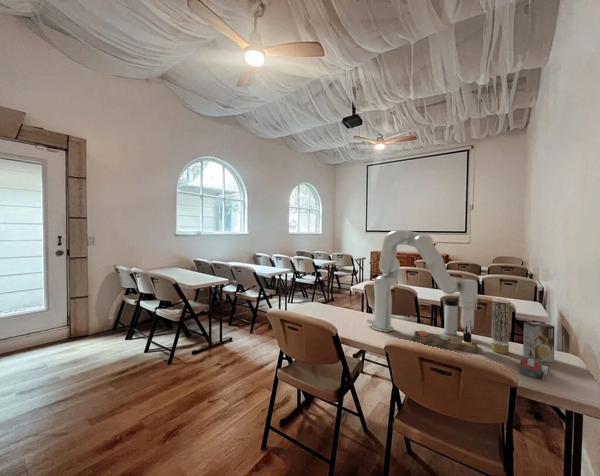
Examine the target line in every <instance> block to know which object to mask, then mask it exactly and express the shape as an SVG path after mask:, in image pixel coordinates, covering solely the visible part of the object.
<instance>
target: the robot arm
mask: <svg viewBox="0 0 600 476" xmlns="http://www.w3.org/2000/svg"><path fill="white" fill-rule="evenodd" d="M401 245H402V246H409V247H414V248H415V249H416V250H417V252H418V253H419V256H420V257H421V258H422V260H423V261H424V263H425V265H427V268H428V270H429V273H430V274H431V276H432V278H433V280H434V282H435V283H436V284H437V286H438V287H439V289H440V290H441V291H442V292H443V293H445V294H447V295H453V294H455V293H456V292H459V295H458V296H459V299H458V305H459V308H460V323H459V324H460V326H461V329H463V334H462V335H463V337H462V338H463V340H464V342H470V343H471V339H472V331H473V330H474V326H475V325H474V324H475V310H477V309H478V281H476V280H475V279H467V278H464V279H463V278H458V277H456V276H455V277H454V276H451V275H450V273H449V272H448V270H447V269H446V265H445V262H444V259H443V256H442V255H441V253H440V252H439V250H438V249H437V248H436V246H435V245H434V239H433V237H431V235H429V234H423V233H420V232H415V231H411V230H406V229H396V230H392V231H390V232H388V233H387V234H386V236H385V235H384V238H383V242H382V247H381V251H380V256H379V262H378V269H379V272H381V273H382V274H380V275H378V276H377V277H375V279H374V281H373V290H374V315H373V316H374V319H373V318H372V319H369V318H367V319H366V323H368V324H370V325H371V328H372V330H374V329H375V330H374V331H377V330H378V331H377V332H381V331H384V332H383V333H390V332H389V331H391V332H393V331H394V330H395V327H394V326H392V292H391V291H392V289H394V288H395V287H396V286H397V283H398V281H399V275H400V274H399V273H400V268H401V265H400V264H401V263H400V261H399V259H398V257H397V253H398V246H401Z"/></svg>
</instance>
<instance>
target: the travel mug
mask: <svg viewBox="0 0 600 476" xmlns="http://www.w3.org/2000/svg"><path fill="white" fill-rule="evenodd" d="M458 303H459V299H457V298H446V299H445V300H444V327H443V328H444V329H443V330H444V331H443V332H444V333H443V334H446V335H449V336H453V337H457V335H458V305H459V304H458Z"/></svg>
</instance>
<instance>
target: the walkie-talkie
mask: <svg viewBox="0 0 600 476" xmlns="http://www.w3.org/2000/svg"><path fill="white" fill-rule="evenodd" d="M548 373H549V366H547V362H546V361H543V362H542V363H541V362H535V359H530V358H522V359H521V361H520V367H519V374H520V375H522V376H523V375H524V376H527V377H530V378H534V379H538V380H542V379H543V376H547V375H548Z"/></svg>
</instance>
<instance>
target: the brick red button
mask: <svg viewBox="0 0 600 476" xmlns="http://www.w3.org/2000/svg"><path fill="white" fill-rule="evenodd" d="M417 331H418V336H423V337H427V333H428V331H425V330H417Z"/></svg>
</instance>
